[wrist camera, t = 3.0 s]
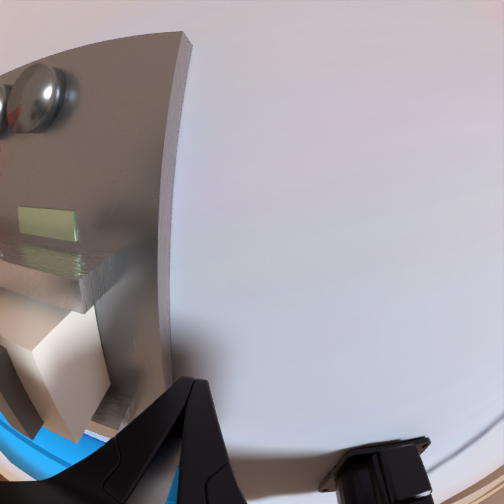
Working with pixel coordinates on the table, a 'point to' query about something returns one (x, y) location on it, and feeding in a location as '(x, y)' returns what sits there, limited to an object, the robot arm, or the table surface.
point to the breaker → (49, 367)
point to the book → (52, 453)
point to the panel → (97, 200)
